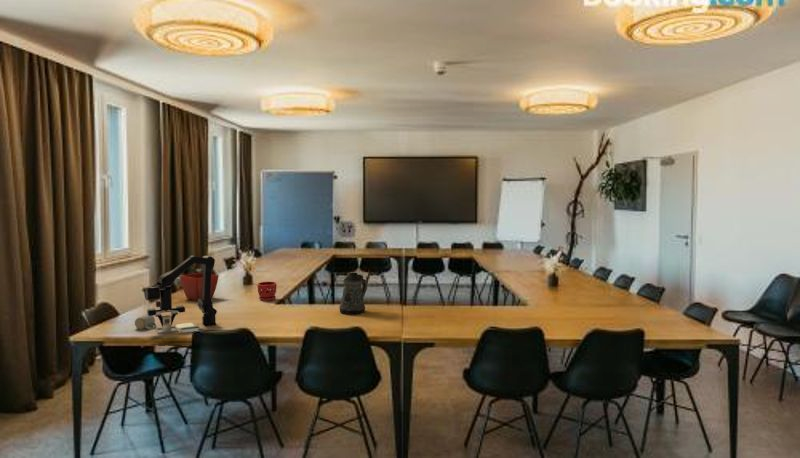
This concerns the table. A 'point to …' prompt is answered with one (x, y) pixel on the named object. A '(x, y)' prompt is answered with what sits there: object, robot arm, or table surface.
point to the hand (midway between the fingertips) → (166, 326)
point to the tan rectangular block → (166, 323)
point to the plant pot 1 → (196, 285)
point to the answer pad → (184, 325)
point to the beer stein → (353, 295)
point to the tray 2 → (189, 329)
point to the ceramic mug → (145, 322)
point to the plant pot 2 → (267, 290)
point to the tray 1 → (160, 331)
